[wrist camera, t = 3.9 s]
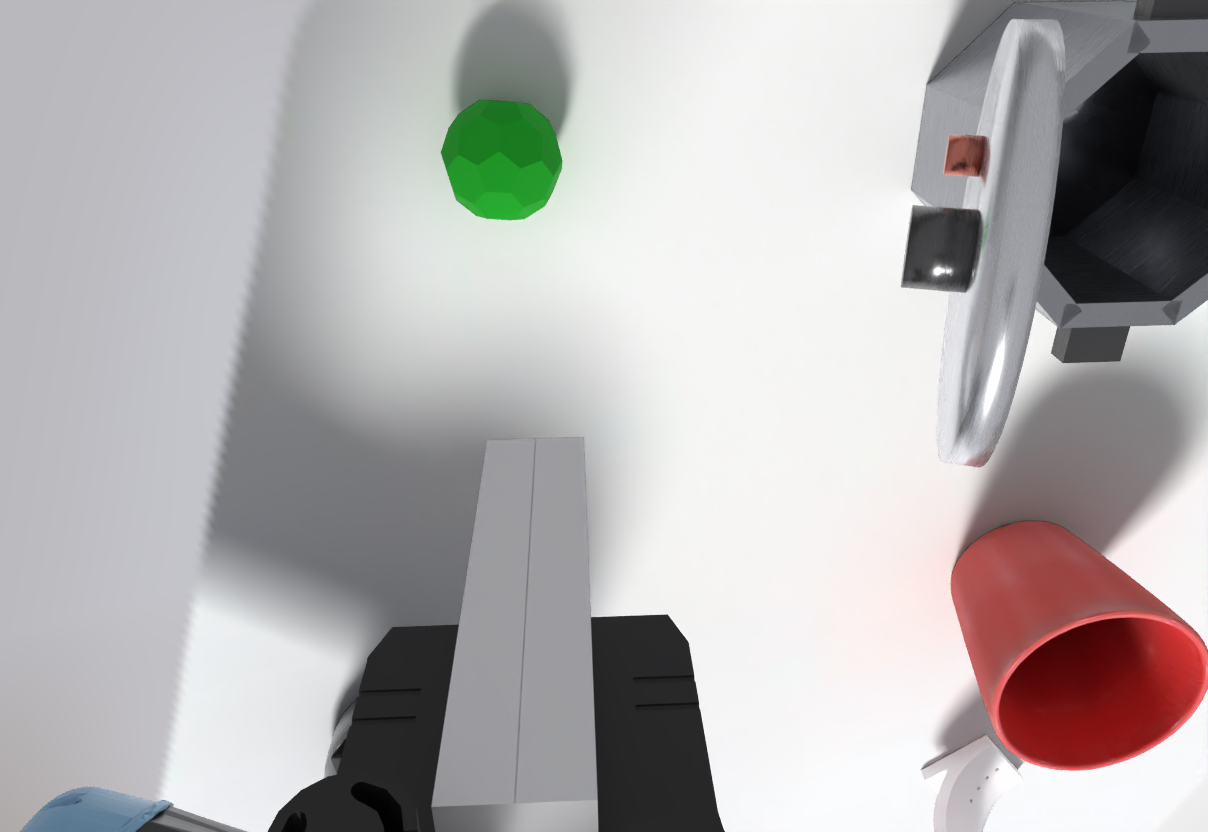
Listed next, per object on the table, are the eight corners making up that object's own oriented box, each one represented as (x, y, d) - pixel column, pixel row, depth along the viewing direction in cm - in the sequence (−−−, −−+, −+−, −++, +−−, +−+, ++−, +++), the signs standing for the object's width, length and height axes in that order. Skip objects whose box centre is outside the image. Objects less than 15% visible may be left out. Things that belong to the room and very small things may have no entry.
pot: (894, 296, 44) (968, 376, 36) (946, -50, 36) (1052, -46, 29) (1117, 290, 44) (1238, 368, 36) (1210, -55, 37) (1388, -52, 29)
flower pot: (924, 657, 55) (991, 790, 47) (921, 514, 50) (995, 633, 41) (1098, 627, 55) (1198, 756, 46) (1112, 479, 49) (1228, 593, 41)
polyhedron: (426, 155, 40) (410, 181, 35) (494, 64, 38) (485, 81, 34) (516, 226, 41) (510, 259, 37) (584, 142, 40) (587, 167, 35)
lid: (976, 354, 34) (887, 344, 35) (1046, 0, 29) (938, 0, 29) (999, 556, 23) (869, 535, 24) (1123, 47, 17) (945, 44, 18)
